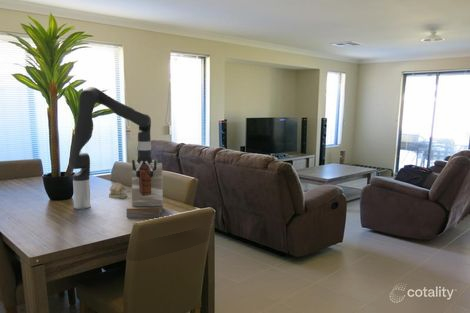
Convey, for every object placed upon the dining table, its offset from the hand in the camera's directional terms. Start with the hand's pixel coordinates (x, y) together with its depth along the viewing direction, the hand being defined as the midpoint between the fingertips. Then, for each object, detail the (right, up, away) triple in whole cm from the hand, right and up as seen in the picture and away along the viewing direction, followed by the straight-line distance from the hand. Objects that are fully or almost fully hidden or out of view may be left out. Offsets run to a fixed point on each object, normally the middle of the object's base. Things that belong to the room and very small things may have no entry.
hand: (144, 177), depth 210 cm
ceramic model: (-28, -16, +40) cm, 51 cm away
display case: (0, -21, +2) cm, 21 cm away
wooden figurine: (0, -10, +1) cm, 10 cm away
